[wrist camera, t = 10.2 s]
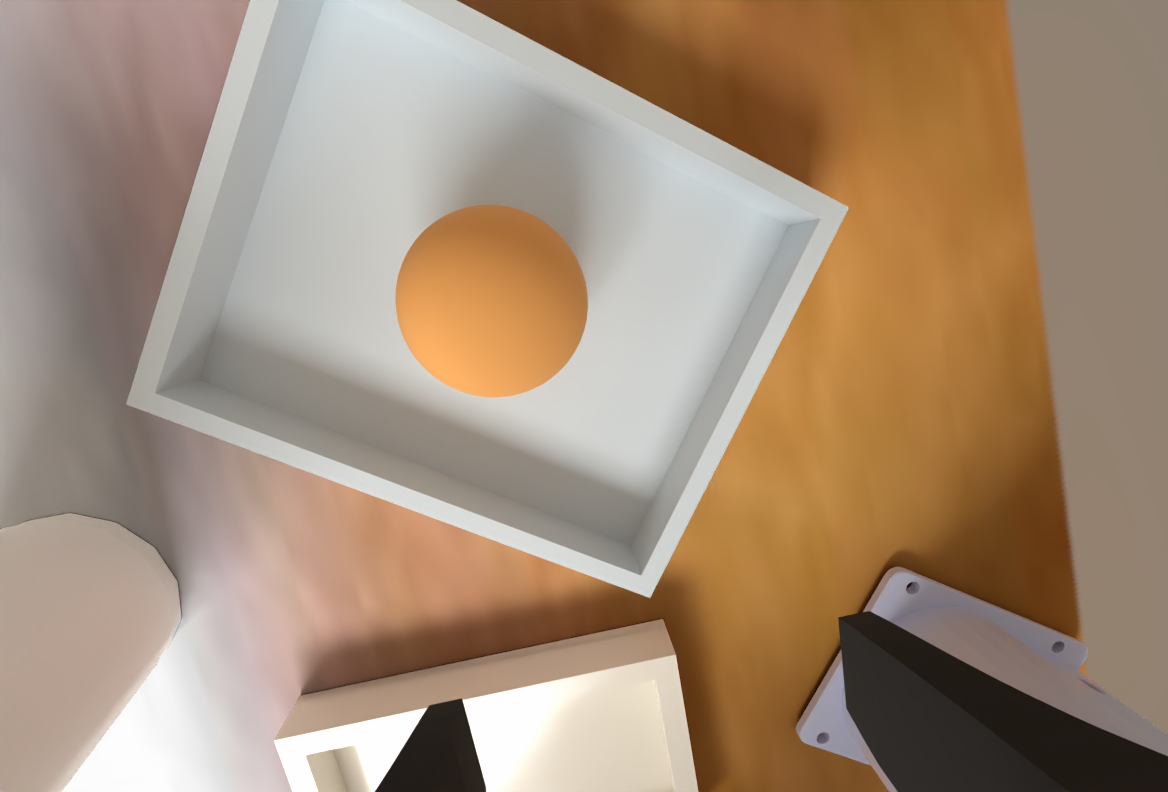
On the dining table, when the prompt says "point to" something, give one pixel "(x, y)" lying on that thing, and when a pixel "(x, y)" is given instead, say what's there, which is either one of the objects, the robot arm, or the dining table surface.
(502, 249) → the ball
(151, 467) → the dining table surface
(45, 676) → the foam cup
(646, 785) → the dish
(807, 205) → the tray
